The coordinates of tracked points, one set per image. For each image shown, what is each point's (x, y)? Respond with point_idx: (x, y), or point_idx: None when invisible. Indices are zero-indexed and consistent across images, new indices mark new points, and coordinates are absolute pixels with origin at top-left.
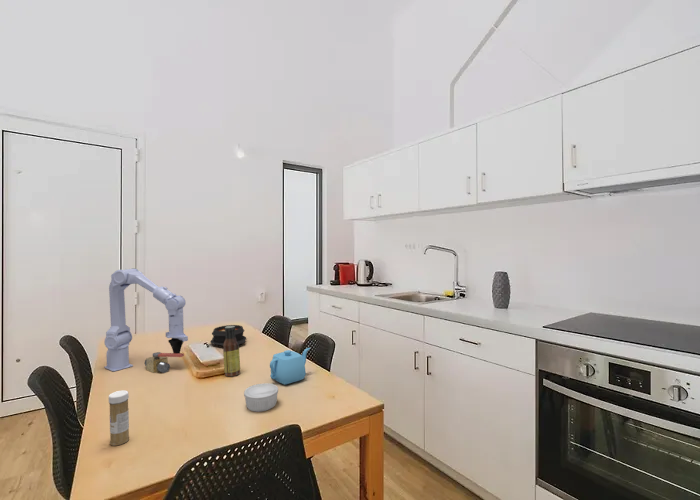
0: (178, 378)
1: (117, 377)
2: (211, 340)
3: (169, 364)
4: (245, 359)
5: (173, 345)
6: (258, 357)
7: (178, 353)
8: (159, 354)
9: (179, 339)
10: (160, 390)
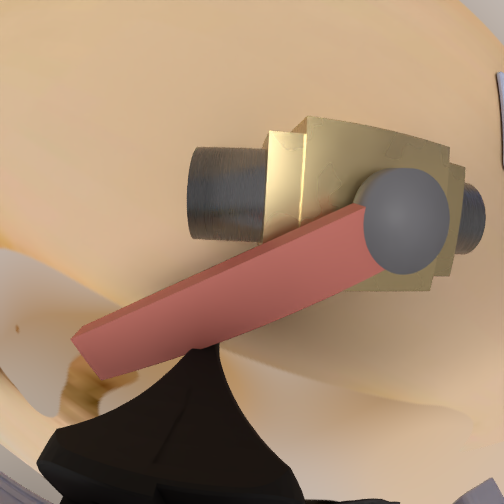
0: (38, 186)
1: (406, 9)
2: (380, 502)
3: (192, 237)
4: None
5: (123, 413)
6: None
7: (140, 360)
8: (341, 216)
9: (41, 501)
10: (6, 66)
